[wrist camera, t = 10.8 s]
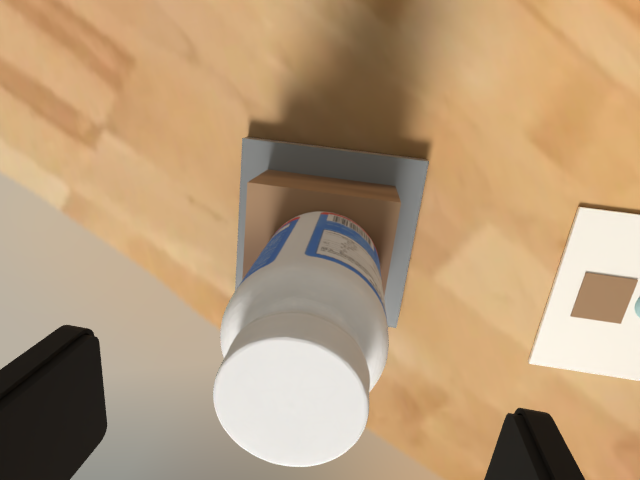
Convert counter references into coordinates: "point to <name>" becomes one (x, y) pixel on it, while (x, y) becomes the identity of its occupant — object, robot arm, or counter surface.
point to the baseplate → (348, 166)
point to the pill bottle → (303, 343)
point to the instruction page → (595, 299)
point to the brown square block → (319, 209)
